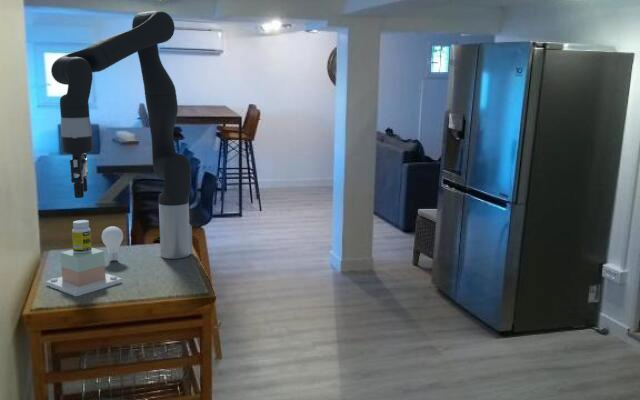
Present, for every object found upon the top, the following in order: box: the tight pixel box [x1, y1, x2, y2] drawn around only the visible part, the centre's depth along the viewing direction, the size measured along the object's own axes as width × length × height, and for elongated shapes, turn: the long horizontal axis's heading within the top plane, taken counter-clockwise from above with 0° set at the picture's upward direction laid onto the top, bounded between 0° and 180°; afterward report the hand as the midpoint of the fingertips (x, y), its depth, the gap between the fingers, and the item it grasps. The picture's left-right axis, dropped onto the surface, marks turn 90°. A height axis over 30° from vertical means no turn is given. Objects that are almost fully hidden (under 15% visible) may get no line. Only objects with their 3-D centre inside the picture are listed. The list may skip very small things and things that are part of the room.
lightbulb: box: [101, 225, 124, 262], centre depth 186 cm, size 6×6×11 cm
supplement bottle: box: [71, 219, 93, 254], centre depth 163 cm, size 5×5×8 cm
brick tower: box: [45, 247, 123, 297], centre depth 165 cm, size 14×14×9 cm
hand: (81, 194), depth 163 cm, fingers open, 8 cm apart
